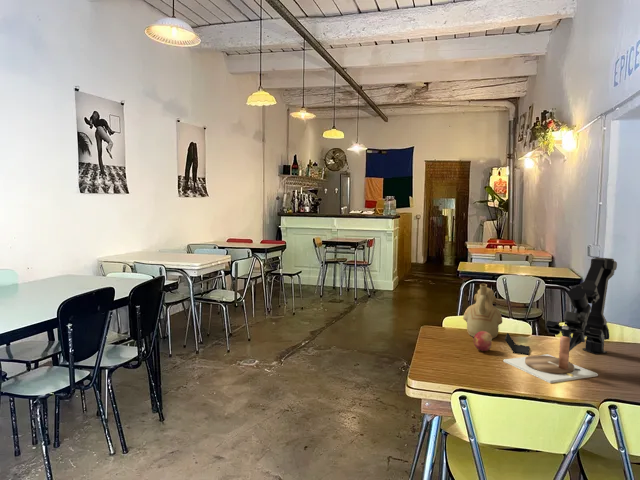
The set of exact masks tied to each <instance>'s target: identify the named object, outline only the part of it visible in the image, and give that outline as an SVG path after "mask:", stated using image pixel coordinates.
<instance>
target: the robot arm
mask: <svg viewBox="0 0 640 480" xmlns="http://www.w3.org/2000/svg"><path fill="white" fill-rule="evenodd" d="M617 266H618V262H617V261H615V259H614V258H611V257H610V258H609V257H599V256H597V257H594V258H591V259H590V267H589V269H588V272H587V273H586V276H585V278H584V281H583V282H581V283H579V284H578V285H577V284H576V286H575V287H573V288H571V289H569V290H568V292H567V297H568V300H569V303H570V305H571V306H572V309H571V311H567V310H565V311H564V315H563V321H564V324H563V325H560V322H559V321H558V320H552V319H547V320H546V321H545V323H544V325H545V328H546V330H547V331H546V332H547V333H548V334H551V335H556V336H557V335H560V334H561V336H565V337H569V338H570V346H569V352H570V351H572V350H573V349H574V348H576V346H578V345H580V344H581V343H585V345H584V347H583V348H581V349H582V350H583V351H586V352H589V353H590V354H591V353H592V354H594V355H600V354H607V353H608V351H606V350H604V348H605V341H606V340H607V341H609V340H610V330H609V326H608V325H607V323H608V321H607V319H606V316H605V314H604V313H605V312H604V311H605V305H606V300H607V292H608V285H609V280H610V279H611V278H612V277H613V276H614V275H615V271H616V270H617ZM590 304H591V305H590Z"/></svg>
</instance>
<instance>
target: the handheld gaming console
mask: <svg viewBox="0 0 640 480" xmlns="http://www.w3.org/2000/svg"><path fill="white" fill-rule="evenodd" d="M504 341H505V343H506V344H507V345H508V347H509V348H510V349H511V351H512V354H514V355H515V354H517V355H524V356H530V355H529V354H530V348H531V346H529V345H523V344H517V343H516V342H515V341H514V339H513V338H512V337H511V335H510V334H509V333H508V332H507V333H506V335H505V337H504Z"/></svg>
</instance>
